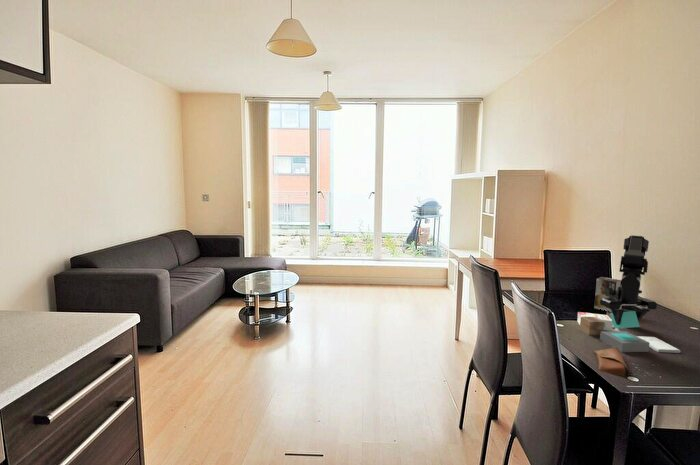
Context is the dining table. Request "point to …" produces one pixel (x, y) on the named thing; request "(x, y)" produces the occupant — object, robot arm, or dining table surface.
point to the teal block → (626, 320)
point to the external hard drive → (659, 345)
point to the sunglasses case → (611, 361)
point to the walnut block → (591, 325)
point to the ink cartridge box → (604, 318)
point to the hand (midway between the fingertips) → (625, 324)
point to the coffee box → (600, 290)
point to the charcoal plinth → (624, 341)
